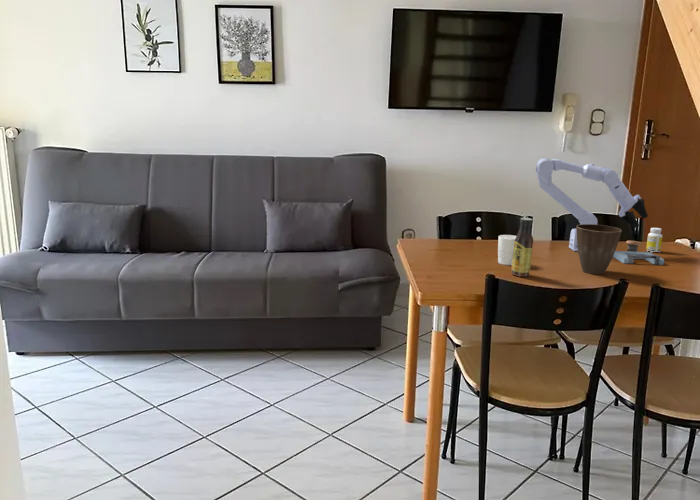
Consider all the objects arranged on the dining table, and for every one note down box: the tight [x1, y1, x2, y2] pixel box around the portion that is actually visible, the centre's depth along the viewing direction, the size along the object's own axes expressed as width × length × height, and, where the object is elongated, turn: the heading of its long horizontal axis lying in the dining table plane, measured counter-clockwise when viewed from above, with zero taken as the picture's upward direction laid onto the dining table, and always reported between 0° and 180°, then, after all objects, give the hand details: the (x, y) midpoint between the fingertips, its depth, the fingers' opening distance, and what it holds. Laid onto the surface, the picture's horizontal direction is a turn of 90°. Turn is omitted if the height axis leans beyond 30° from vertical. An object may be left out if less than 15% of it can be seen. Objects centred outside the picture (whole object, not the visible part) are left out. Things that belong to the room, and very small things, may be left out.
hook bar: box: [627, 254, 661, 266], centre depth 232 cm, size 12×2×3 cm, turn 88°
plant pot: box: [575, 224, 623, 275], centre depth 216 cm, size 15×15×16 cm
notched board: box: [612, 250, 665, 266], centre depth 238 cm, size 15×13×2 cm
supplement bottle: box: [646, 227, 663, 253], centre depth 254 cm, size 5×5×10 cm
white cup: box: [497, 234, 517, 266], centre depth 226 cm, size 8×8×10 cm
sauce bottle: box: [511, 217, 534, 278], centre depth 208 cm, size 6×6×20 cm
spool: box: [625, 240, 641, 252], centre depth 247 cm, size 5×5×5 cm
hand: (641, 222), depth 246 cm, fingers open, 7 cm apart
